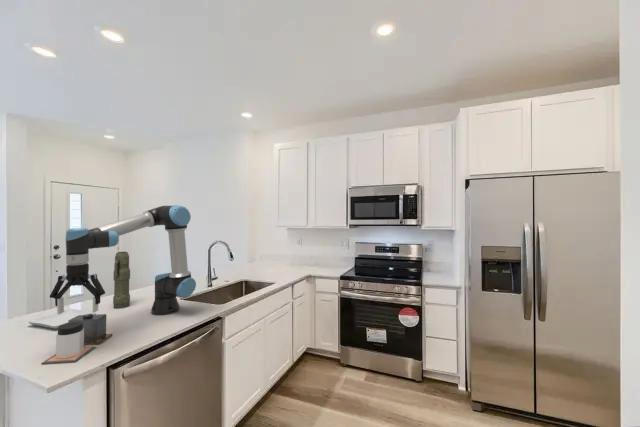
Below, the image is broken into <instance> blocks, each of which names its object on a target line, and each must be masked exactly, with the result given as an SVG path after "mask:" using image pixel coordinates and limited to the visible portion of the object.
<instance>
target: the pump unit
mask: <svg viewBox="0 0 640 427" xmlns="http://www.w3.org/2000/svg"><path fill="white" fill-rule="evenodd" d="M72 322H82V323H83V328H84V346H95V345H101V344H103V343H104V342H106V341H107V340H108V339H110V338H111V337H112V336H113V333H110V332H109V333H107V313H101V314H97V313H96V315H93V314H86V315H78V316H76V317H74V318H72V319H70V320H68V323H72Z"/></svg>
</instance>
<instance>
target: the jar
mask: <svg viewBox="0 0 640 427" xmlns="http://www.w3.org/2000/svg"><path fill="white" fill-rule="evenodd" d="M84 347H85V345H84V328H83V323H82V322H72V323H67V324H63V325H61V326H59V327H58V329H57V334H55V354H56V358H63V359H66V358H70V357H73V356H77V355H79V354H80V353H81V352H82V351H83V350H84Z"/></svg>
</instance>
